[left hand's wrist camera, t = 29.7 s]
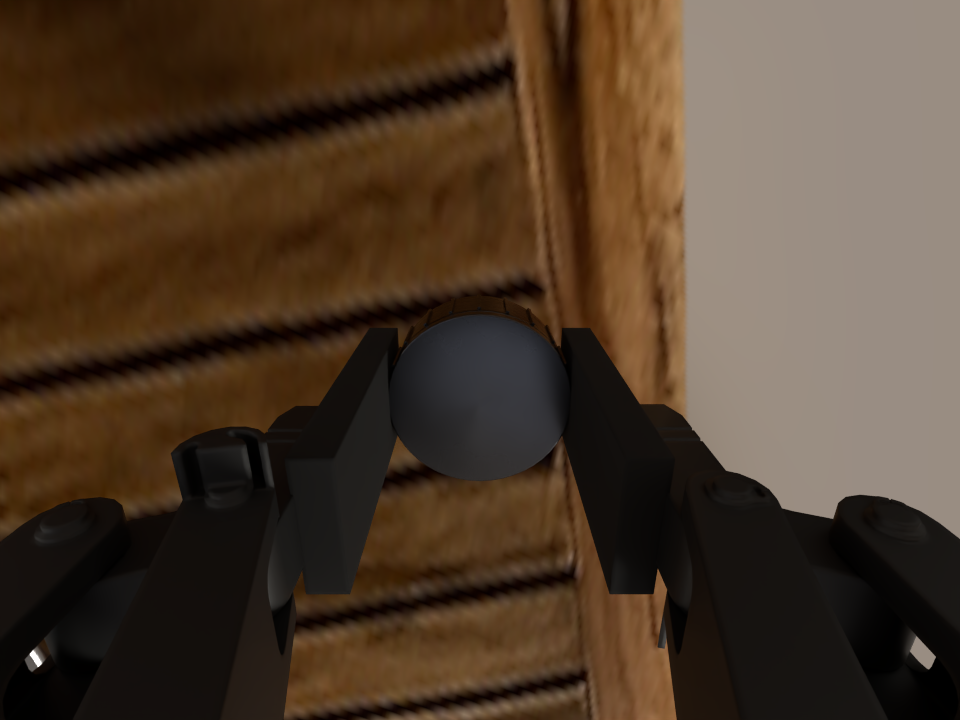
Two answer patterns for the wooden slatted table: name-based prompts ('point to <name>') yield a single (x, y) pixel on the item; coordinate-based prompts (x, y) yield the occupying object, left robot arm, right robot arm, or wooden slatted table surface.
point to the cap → (479, 389)
